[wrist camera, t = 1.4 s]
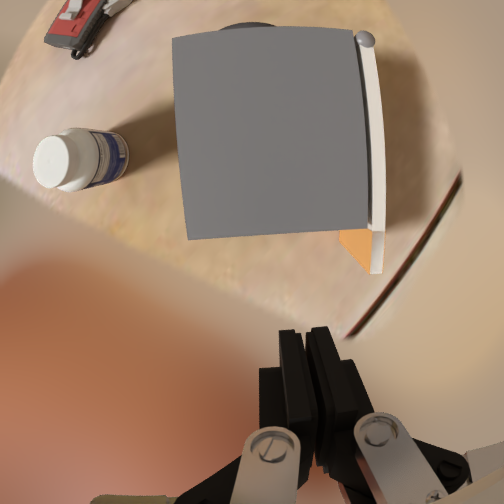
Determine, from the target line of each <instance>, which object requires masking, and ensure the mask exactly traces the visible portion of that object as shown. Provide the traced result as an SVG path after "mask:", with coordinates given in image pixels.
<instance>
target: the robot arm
mask: <svg viewBox="0 0 504 504" xmlns="http://www.w3.org/2000/svg"><path fill="white" fill-rule="evenodd" d="M279 354H280V355H279V356H280V367H271V368H259V420H260V421H259V422H260V423H259V425H260V429H259V430H257V431H255V432H254V433H252V434H251V435H250V436H249V437H248V438H247V440H246V443H245V445H244V449H243V453H242V455H241V456H239V457H238V458H237V459H235V460H234V461H232V462H231V463H230V464H228V465H227V466H225V467H224V468H222V469H221V470H219V471H218V472H217V473H215V474H214V475H212V476H210V477H209V478H207V479H206V480H204V481H203V482H201V483H200V484H198V485H196V486H195V487H193V488H191V489H190V490H188V491H187V492H185V493H183V494H182V495H181V496H179V497H167V496H166V495H159V496H128V495H108V494H107V495H100V496H97V497H95V498H94V499H93V500H92V501H91V502H90V504H296V496H297V490H298V489H299V488H300V487H301V486H302V485H303V484H304V483H305V482H306V481H307V480H308V476H309V470H310V467H311V466H312V460H313V454H314V453H315V459H316V465H317V466H323V471H324V474H325V473H329V476H330V478H332V479H334V480H336V481H338V486H339V489H340V492H341V494H342V497H343V499H344V501H345V504H504V441H503V442H500V443H497V444H493V445H490V446H486V447H483V448H479V449H475V450H471V451H467V452H466V453H465V454H464V455H460V454H458V453H456V452H452V451H449V450H446V449H443V448H440V447H436V446H434V445H431V444H428V443H425V442H422V441H419V440H416V439H414V438H411V436H410V435H409V433H408V432H407V430H406V429H405V427H404V426H403V424H402V423H401V422H400V420H398V418H396V417H395V416H393V415H391V414H388V413H384V412H383V413H382V412H376V413H375V412H374V409H373V407H372V405H371V402H370V399H369V397H368V394H367V392H366V390H365V387H364V385H363V382H362V380H361V378H360V375H359V373H358V370H357V368H356V366H355V363H354V362H353V360H352V359H349V360H340V357H339V355H338V352H337V349H336V347H335V344H334V341H333V339H332V336H331V334H330V331H329V329H328V327H327V326H324V327H314V328H312V329H311V332H306V346H305V349H304V344H303V340H302V336H301V333H295V330H294V329H292V330H279Z"/></svg>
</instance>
